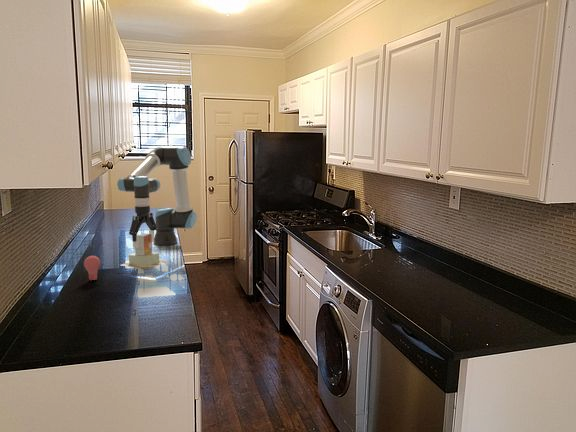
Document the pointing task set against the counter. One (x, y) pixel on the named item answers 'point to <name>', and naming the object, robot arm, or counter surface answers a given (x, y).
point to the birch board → (144, 266)
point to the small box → (144, 244)
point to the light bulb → (92, 266)
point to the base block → (144, 259)
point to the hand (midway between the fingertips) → (144, 244)
